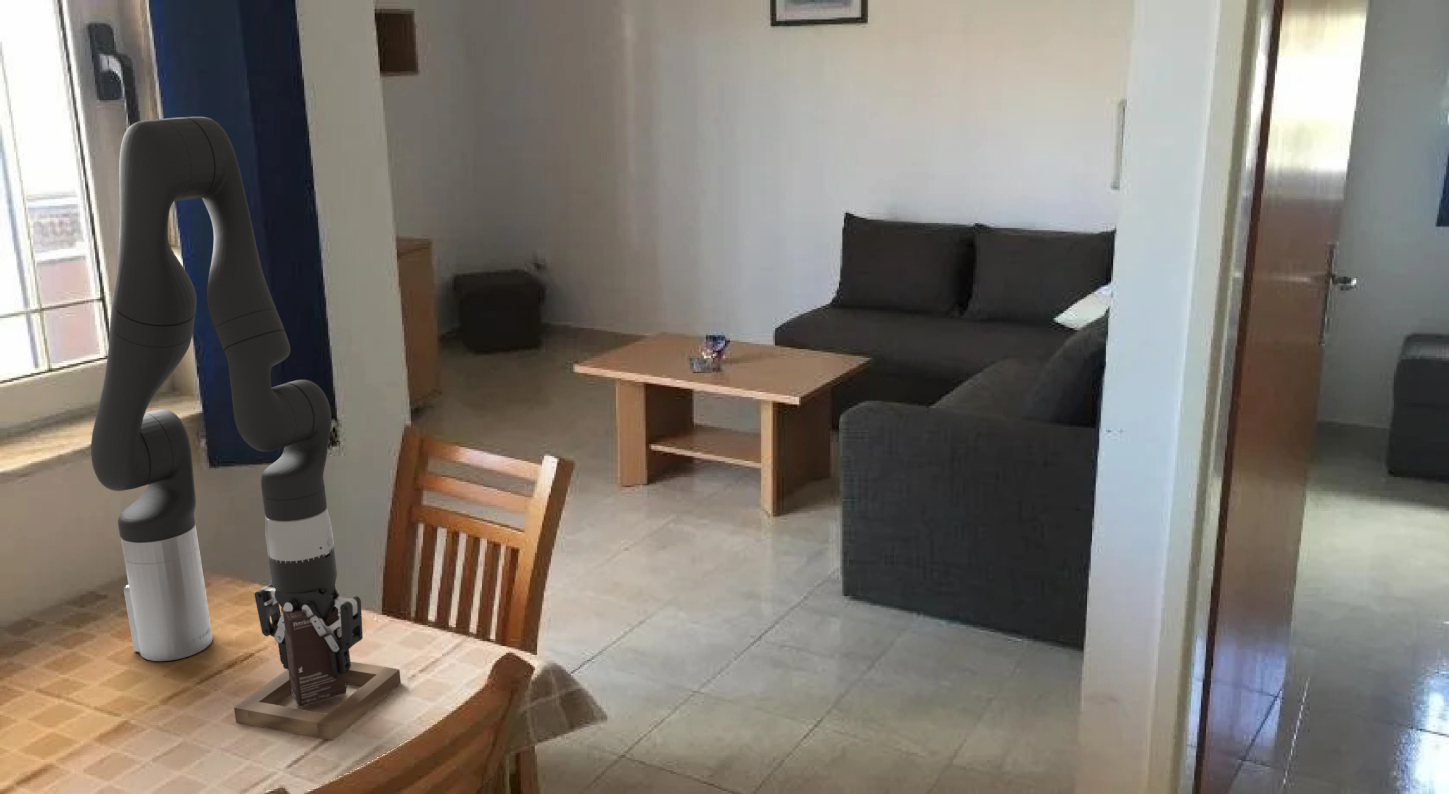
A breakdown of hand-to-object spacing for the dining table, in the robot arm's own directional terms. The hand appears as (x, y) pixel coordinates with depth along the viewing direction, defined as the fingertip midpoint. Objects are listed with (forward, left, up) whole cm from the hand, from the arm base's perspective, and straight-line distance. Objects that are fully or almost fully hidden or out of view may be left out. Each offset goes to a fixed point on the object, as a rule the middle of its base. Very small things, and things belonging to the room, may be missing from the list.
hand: (316, 670), depth 146 cm
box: (0, 0, -4) cm, 4 cm away
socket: (0, 0, -4) cm, 4 cm away
